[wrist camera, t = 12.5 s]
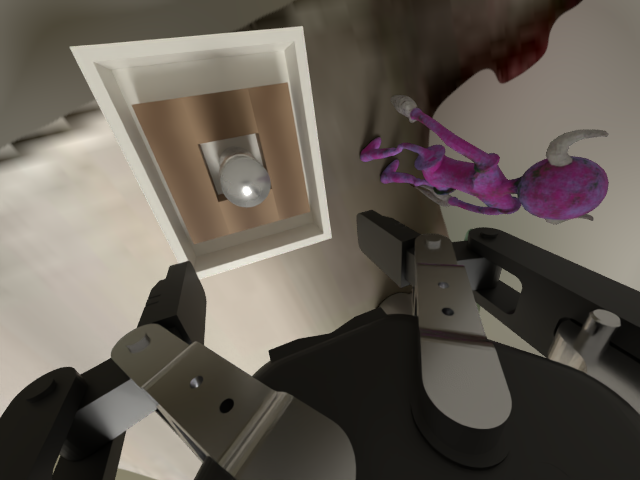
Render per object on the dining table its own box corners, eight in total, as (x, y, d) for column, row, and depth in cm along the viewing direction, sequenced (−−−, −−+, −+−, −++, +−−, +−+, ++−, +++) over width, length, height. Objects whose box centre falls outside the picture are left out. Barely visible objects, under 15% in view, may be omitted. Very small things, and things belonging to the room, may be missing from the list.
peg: (249, 143, 29) (264, 154, 20) (258, 177, 31) (275, 200, 22) (213, 150, 28) (213, 165, 20) (225, 185, 30) (229, 212, 21)
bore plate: (281, 85, 28) (287, 82, 25) (303, 204, 34) (310, 211, 32) (139, 105, 24) (131, 104, 22) (195, 233, 31) (193, 244, 28)
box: (288, 40, 27) (302, 26, 23) (318, 224, 38) (331, 238, 33) (96, 59, 23) (69, 46, 18) (191, 261, 33) (188, 283, 29)
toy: (428, 167, 40) (645, 220, 20) (399, 202, 41) (579, 286, 21) (371, 88, 32) (641, 43, 12) (336, 133, 33) (531, 163, 13)
